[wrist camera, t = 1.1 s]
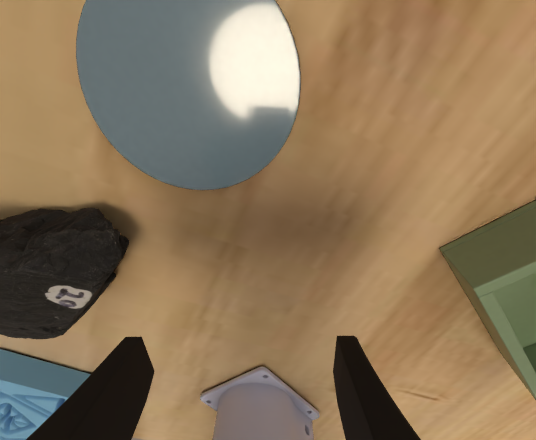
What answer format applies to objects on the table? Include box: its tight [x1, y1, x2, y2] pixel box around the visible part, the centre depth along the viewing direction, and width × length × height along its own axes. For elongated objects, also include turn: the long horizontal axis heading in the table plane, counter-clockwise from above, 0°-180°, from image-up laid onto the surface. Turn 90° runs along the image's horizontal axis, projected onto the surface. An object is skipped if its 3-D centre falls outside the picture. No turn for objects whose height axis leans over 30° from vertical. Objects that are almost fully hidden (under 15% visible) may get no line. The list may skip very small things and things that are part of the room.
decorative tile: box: [0, 349, 91, 440], centre depth 29 cm, size 14×14×2 cm
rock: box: [0, 208, 129, 339], centre depth 18 cm, size 9×10×6 cm
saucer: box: [76, 0, 301, 190], centre depth 15 cm, size 11×11×1 cm
